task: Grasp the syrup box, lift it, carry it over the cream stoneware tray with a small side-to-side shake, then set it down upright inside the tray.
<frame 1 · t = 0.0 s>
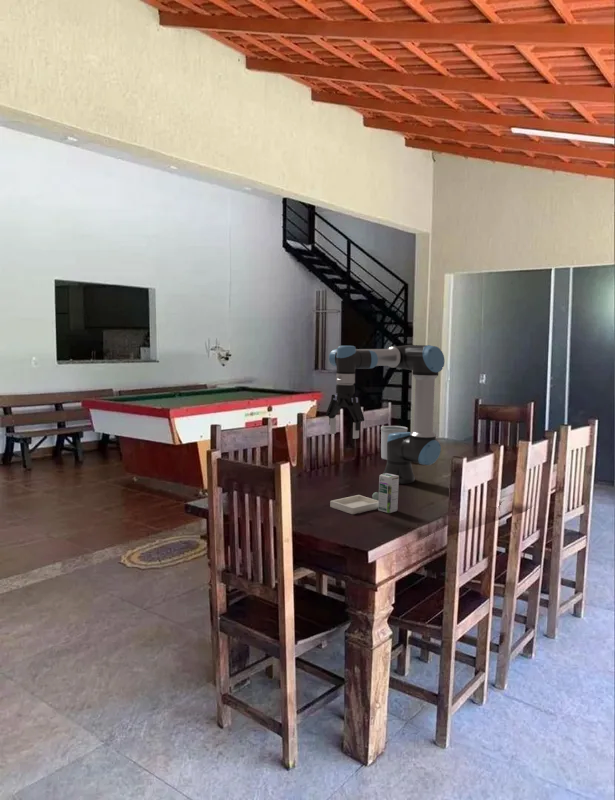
hand: (344, 436, 255), 28 cm above the table, fingers open, 13 cm apart
ball: (376, 496, 262), point 2 cm above the table
syrup box: (387, 511, 248), on the table
utensil holder: (393, 458, 351), on the table
tray: (355, 507, 252), on the table
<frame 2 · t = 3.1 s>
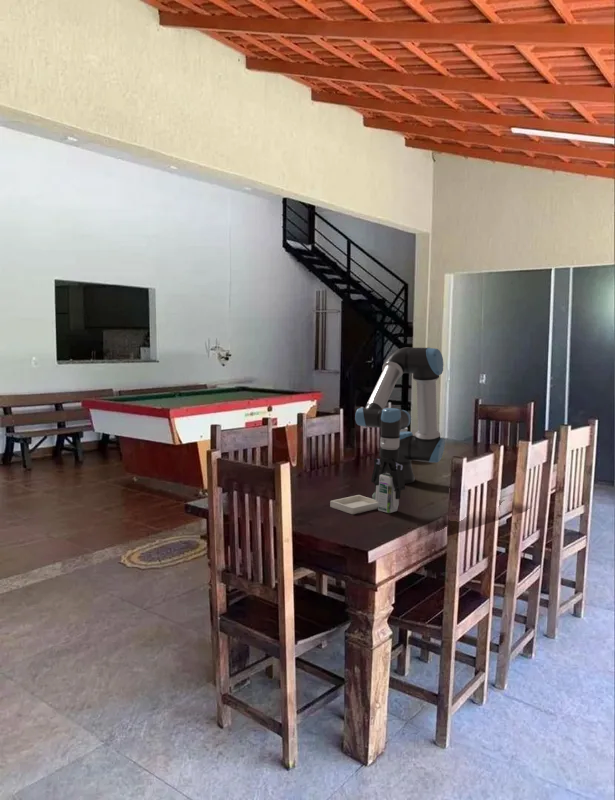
hand: (386, 503, 248), 3 cm above the table, fingers open, 9 cm apart
nothing on the table moved.
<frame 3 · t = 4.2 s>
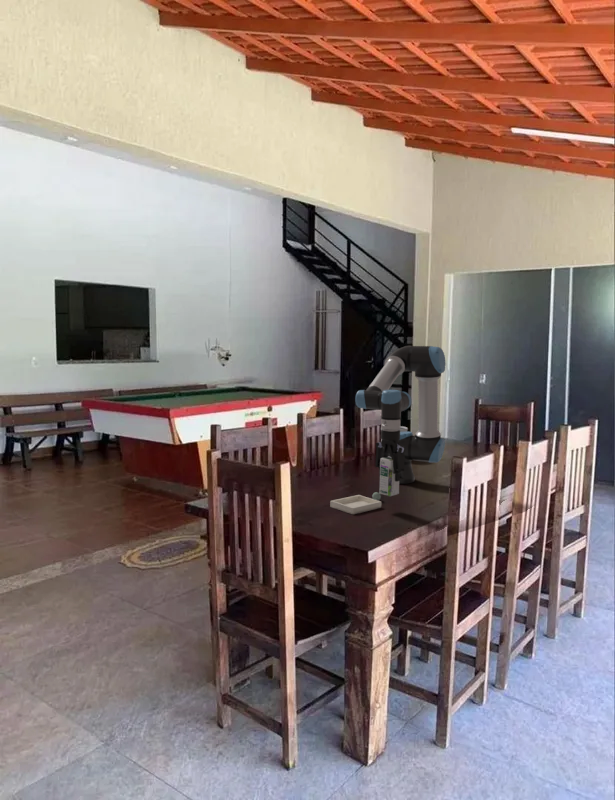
hand: (389, 487, 247), 9 cm above the table, fingers closed on syrup box, 6 cm apart
syrup box: (389, 494, 248), point 6 cm above the table, touching gripper
everything else where it was.
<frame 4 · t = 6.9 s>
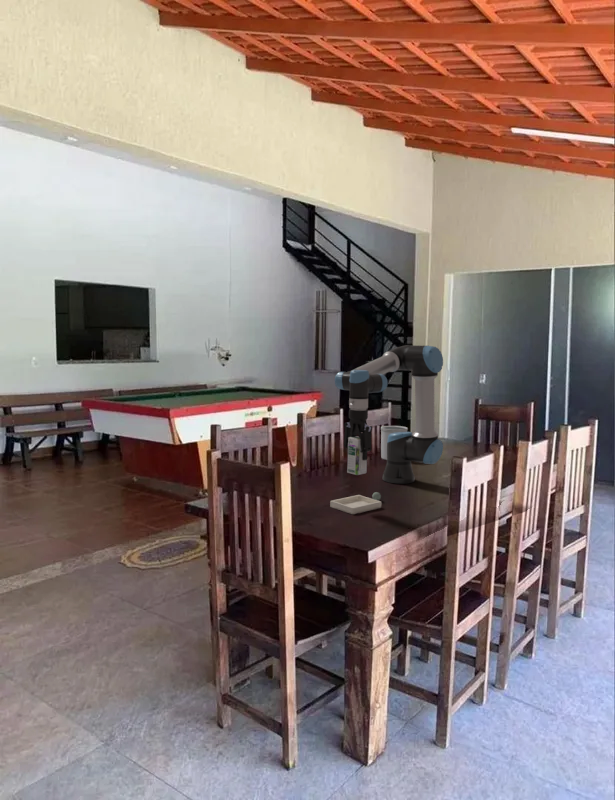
hand: (356, 466, 250), 17 cm above the table, fingers closed on syrup box, 6 cm apart
syrup box: (356, 473, 250), point 14 cm above the table, touching gripper
everything else where it was.
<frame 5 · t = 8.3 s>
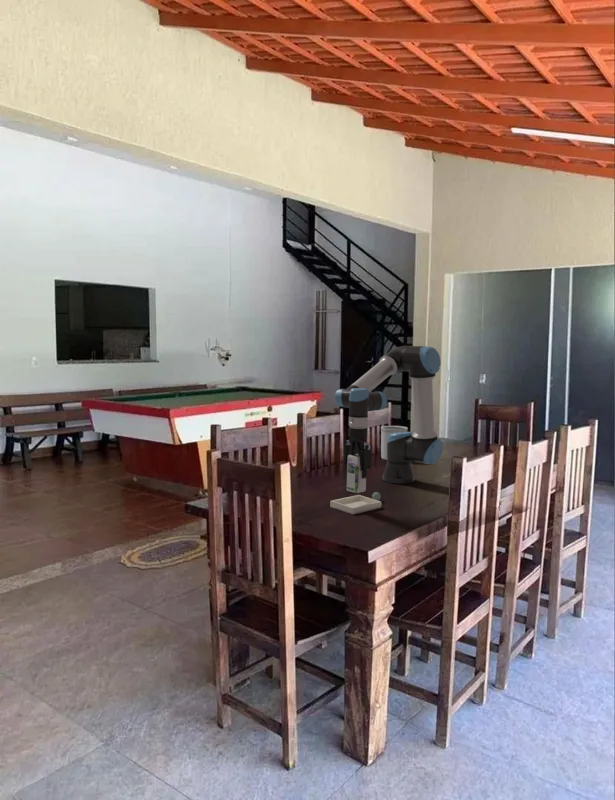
hand: (356, 484, 251), 9 cm above the table, fingers closed on syrup box, 6 cm apart
syrup box: (356, 491, 251), point 7 cm above the table, touching gripper
everything else where it was.
when the fingers open (4 cm above the table, at t = 9.6 s): syrup box stays where it is, resting on tray.
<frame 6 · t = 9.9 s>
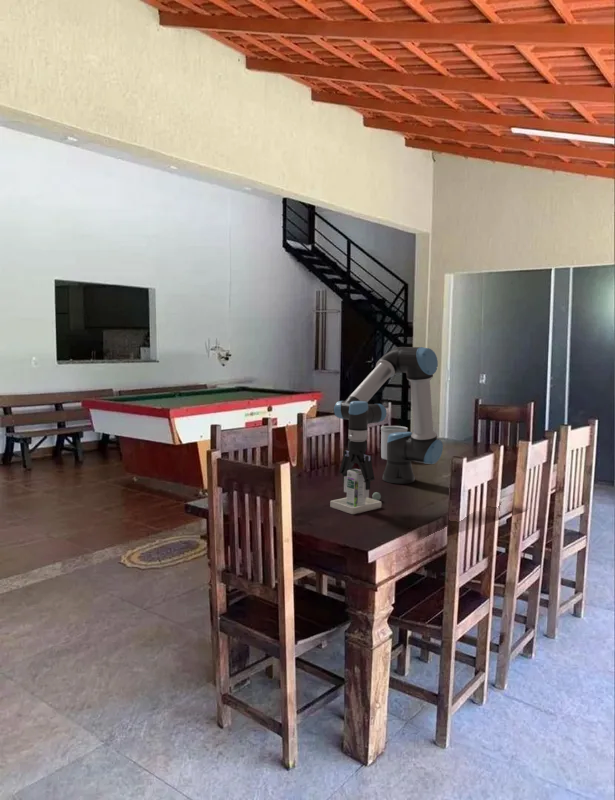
hand: (356, 494, 251), 5 cm above the table, fingers open, 10 cm apart
syrup box: (356, 506, 252), resting on tray
everything else where it was.
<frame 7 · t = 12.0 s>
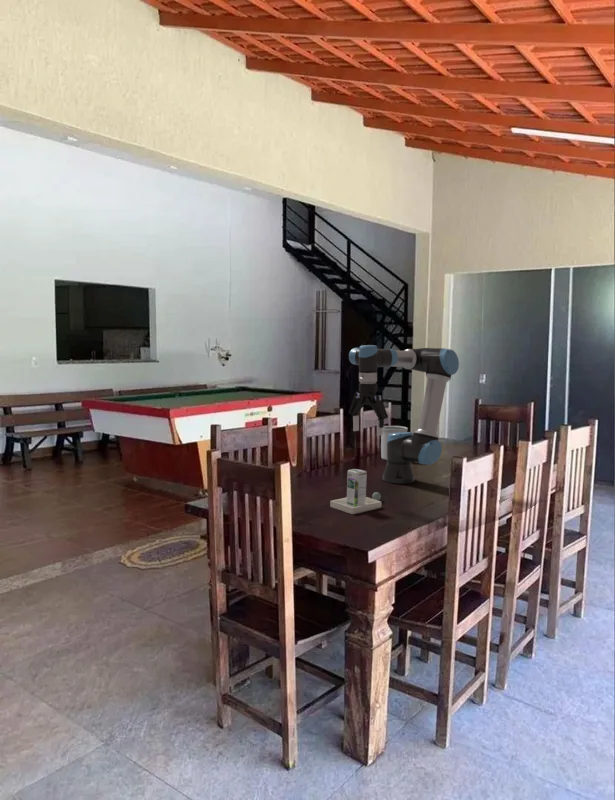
hand: (367, 433, 262), 28 cm above the table, fingers open, 13 cm apart
nothing on the table moved.
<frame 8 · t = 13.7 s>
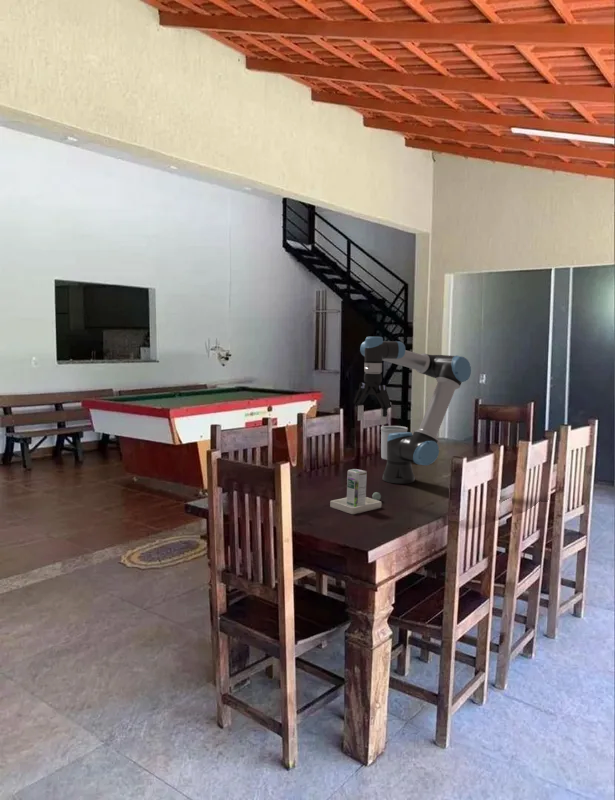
hand: (371, 422, 269), 32 cm above the table, fingers open, 13 cm apart
nothing on the table moved.
at the end: syrup box inside the target area on the tray (0.1 cm from its centre), point 0.4 cm above the tray's base; syrup box tilted 0°; the gripper is holding nothing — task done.
